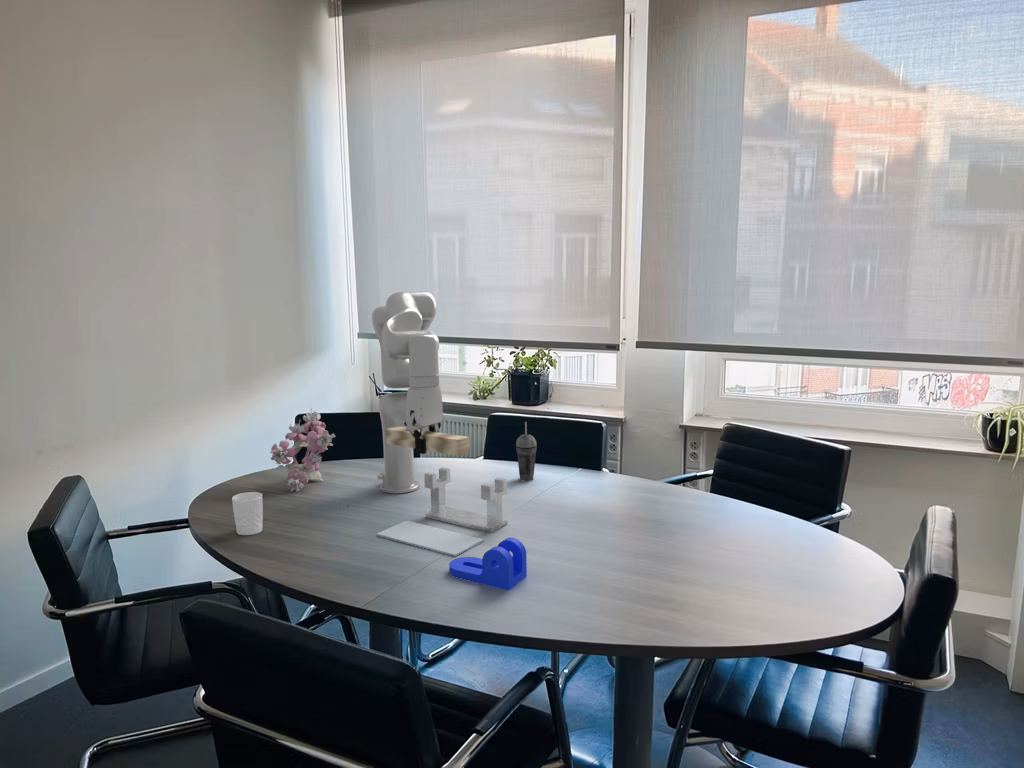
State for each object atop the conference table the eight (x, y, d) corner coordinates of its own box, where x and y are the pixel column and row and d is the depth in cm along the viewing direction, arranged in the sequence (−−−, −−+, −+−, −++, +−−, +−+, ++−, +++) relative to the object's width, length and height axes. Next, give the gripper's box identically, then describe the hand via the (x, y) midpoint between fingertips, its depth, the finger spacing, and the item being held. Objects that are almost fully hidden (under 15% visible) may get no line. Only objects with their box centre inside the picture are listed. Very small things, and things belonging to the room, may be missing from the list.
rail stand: (425, 517, 210) (424, 473, 207) (443, 509, 216) (442, 467, 214) (490, 532, 197) (490, 486, 195) (507, 523, 203) (506, 479, 201)
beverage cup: (538, 476, 249) (537, 419, 246) (536, 482, 242) (536, 423, 238) (516, 475, 250) (516, 418, 246) (514, 482, 242) (514, 423, 239)
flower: (250, 479, 244) (256, 419, 231) (307, 458, 260) (316, 402, 248) (284, 515, 234) (292, 454, 222) (341, 491, 251) (352, 433, 238)
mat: (376, 535, 196) (376, 533, 196) (406, 522, 206) (406, 520, 206) (455, 556, 181) (455, 554, 181) (483, 541, 191) (483, 539, 191)
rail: (386, 443, 194) (385, 428, 194) (396, 440, 198) (395, 426, 197) (460, 455, 181) (459, 440, 180) (469, 452, 184) (469, 436, 183)
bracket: (526, 576, 169) (526, 540, 168) (509, 590, 162) (508, 552, 161) (462, 562, 178) (461, 527, 177) (442, 575, 171) (441, 538, 170)
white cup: (271, 528, 202) (268, 493, 201) (250, 538, 195) (247, 502, 194) (249, 524, 206) (247, 490, 204) (228, 534, 199) (225, 498, 197)
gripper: (434, 376, 195) (436, 442, 198) (391, 385, 182) (394, 456, 185) (456, 378, 191) (457, 446, 194) (413, 387, 177) (416, 460, 180)
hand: (426, 450), depth 189 cm, fingers closed on rail, 4 cm apart
